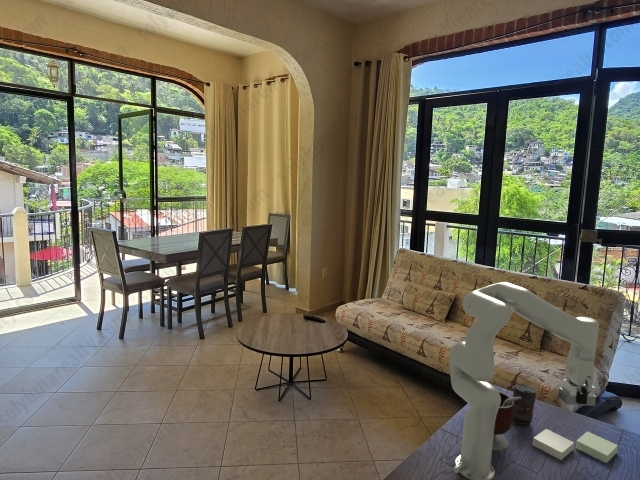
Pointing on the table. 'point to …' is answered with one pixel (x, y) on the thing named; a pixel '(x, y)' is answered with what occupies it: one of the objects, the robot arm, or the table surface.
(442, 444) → the table surface
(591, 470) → the table surface
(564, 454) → the stand
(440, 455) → the table surface
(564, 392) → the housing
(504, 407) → the mate gourd
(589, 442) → the stand
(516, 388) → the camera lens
